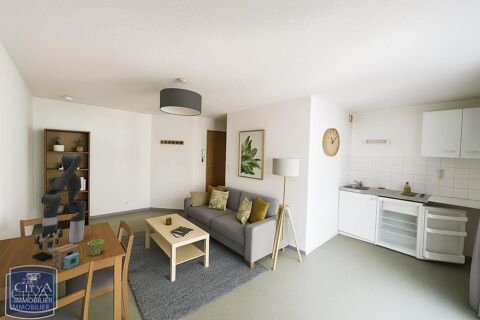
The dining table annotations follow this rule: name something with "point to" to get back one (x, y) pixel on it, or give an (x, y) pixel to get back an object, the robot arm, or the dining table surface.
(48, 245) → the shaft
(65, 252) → the bearing block
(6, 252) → the dining table surface
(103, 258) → the dining table surface
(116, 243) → the dining table surface
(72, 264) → the teal toy camera
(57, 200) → the robot arm
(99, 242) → the plant pot
